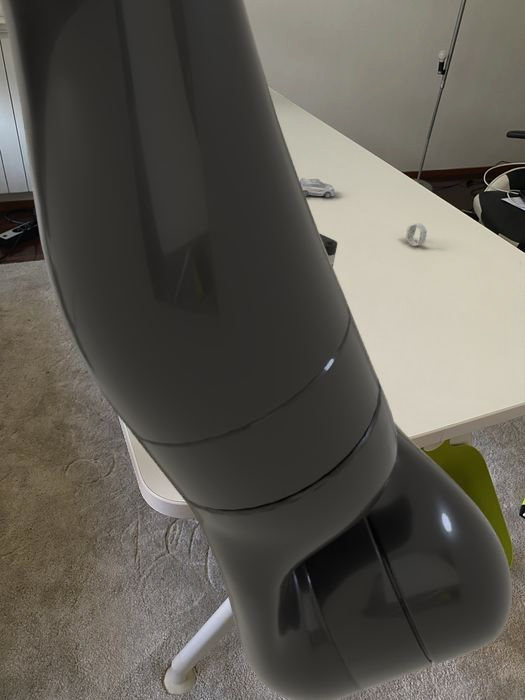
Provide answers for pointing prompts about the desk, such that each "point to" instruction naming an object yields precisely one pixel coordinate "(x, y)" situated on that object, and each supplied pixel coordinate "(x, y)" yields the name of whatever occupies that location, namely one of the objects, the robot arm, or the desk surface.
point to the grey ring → (411, 232)
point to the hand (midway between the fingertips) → (237, 206)
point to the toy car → (316, 188)
